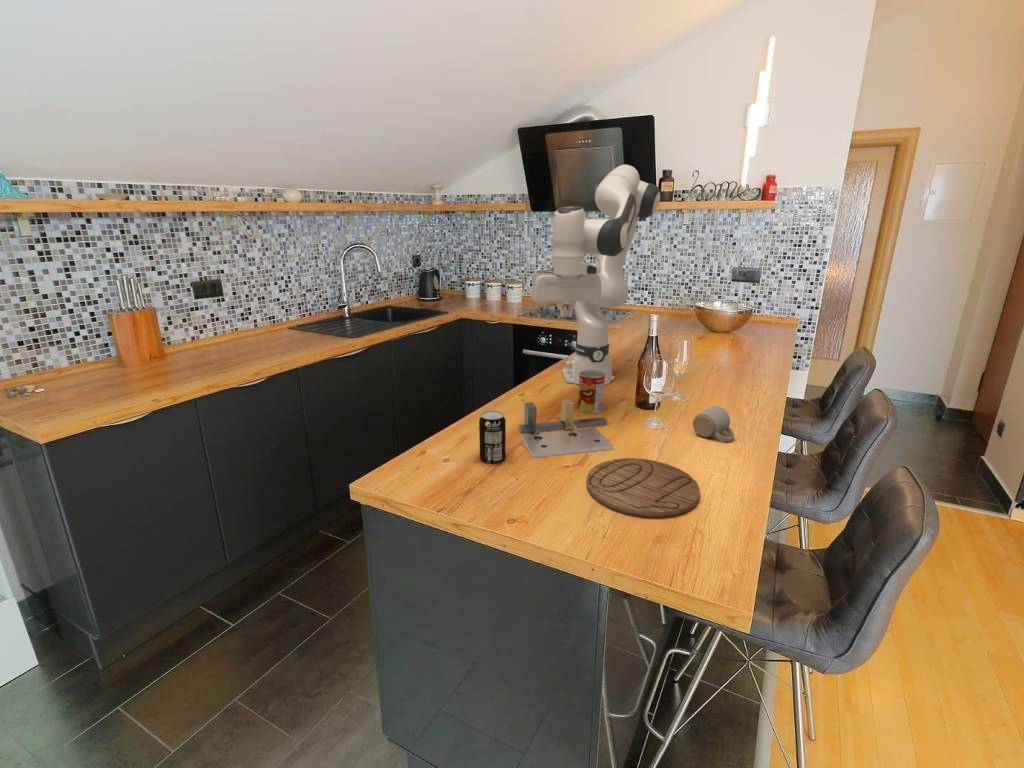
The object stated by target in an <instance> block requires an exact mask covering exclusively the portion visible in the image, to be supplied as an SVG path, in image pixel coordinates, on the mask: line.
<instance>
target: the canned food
mask: <svg viewBox="0 0 1024 768" xmlns="http://www.w3.org/2000/svg"><path fill="white" fill-rule="evenodd" d="M604 382H605V373H603V372H601V371H597V370H584V371H581V372H580V373H579V384H578V395H577V396H578V398H577V399H578V400H577V410H578V411H579V413H582V414H587V415H598V414H600V413H602V412H603V411H604V398H605V385H604Z"/></svg>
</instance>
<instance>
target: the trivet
mask: <svg viewBox="0 0 1024 768" xmlns="http://www.w3.org/2000/svg"><path fill="white" fill-rule="evenodd" d="M585 481H586V482H585V483H586V490H587V492H588V494H589V496H590V497H591V498H592V499H593V500H594V501H596V502H597V503H598V504H599V505H601V506H602V507H604V508H607V509H609V510H610V511H612V512H616V513H618V514H621V515H625V516H628V517H634V518H638V519H639V518H640V519H653V520H654V519H656V520H659V519H660V520H661V519H669V518H675V517H679V516H683V515H685V514H687V513H689V512H690V511H692V510H693V509H695V508H696V506H697V505H698V503H699V502H700V500H699V499H700V489H701V488H700V486H699V485H698V483H697V481H696V480H695V479H694V478H693V477H692V476H691V475H690V474H688V473H687V472H685V471H684V470H682V469H680V468H678V467H676V466H673V465H670V464H669V463H665V462H661V461H657V460H652V459H646V458H635V457H634V458H631V457H626V458H615V459H610V460H607V461H603V462H601V463H599V464H596V465H595V466H593V467H592V468H591V469H590V470H589V471H588V473H587V476H586V480H585Z"/></svg>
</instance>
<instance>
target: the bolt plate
mask: <svg viewBox="0 0 1024 768" xmlns="http://www.w3.org/2000/svg"><path fill="white" fill-rule="evenodd" d="M520 441H522V443H523V445H524V447H525V448H526V449H527V451H528V453H529V454H530V456H531V458H533V459H534V458H542V457H553V456H554V457H555V456H562V455H563V456H564V455H571V454H582V453H591V452H592V453H593V452H601V451H609V450H611V451H612V450H613V448H614V445H613V443H612V442H611V441H609V439H607V438H606V437H605V435H603V433H602V432H601V431H600V430H599V429H598V428H597V427H589V428H584V429H583V428H579V429H578V431H574V430H573V429H569V430H557V431H550V432H549V431H547V432H540V435H536V433H530V434H529V433H525V434H521V435H520Z"/></svg>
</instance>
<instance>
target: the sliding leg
mask: <svg viewBox="0 0 1024 768" xmlns="http://www.w3.org/2000/svg"><path fill="white" fill-rule="evenodd" d="M560 406H561V407H560V421H563V422H564V423H565V429H564V431H569V430H574V431H578V430H579V428H577V427H576V426H575V425H574V424H573V420H574V419H575V418H574V413H575V403H574V402H573V401H572V400H571V399H570V398H567V399H561V404H560Z"/></svg>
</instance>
